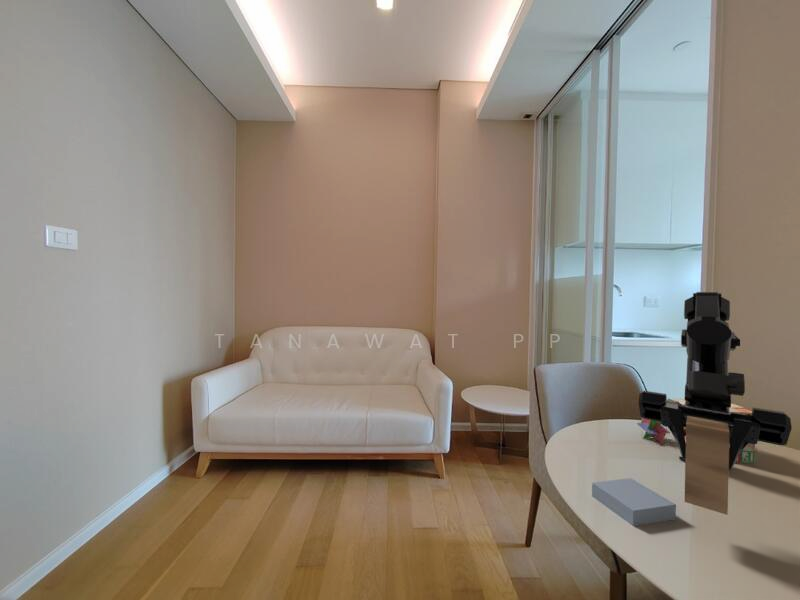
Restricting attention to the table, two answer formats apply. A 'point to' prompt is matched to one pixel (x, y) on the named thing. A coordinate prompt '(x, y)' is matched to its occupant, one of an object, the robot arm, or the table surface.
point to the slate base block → (633, 501)
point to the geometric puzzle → (653, 429)
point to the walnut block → (707, 464)
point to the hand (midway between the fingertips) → (706, 463)
